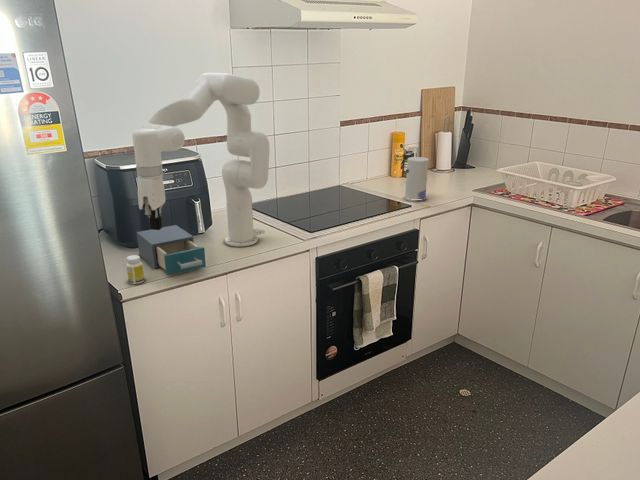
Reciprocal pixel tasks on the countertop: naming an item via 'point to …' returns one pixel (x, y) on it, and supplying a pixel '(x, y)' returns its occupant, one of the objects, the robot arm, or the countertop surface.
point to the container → (416, 178)
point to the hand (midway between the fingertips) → (156, 228)
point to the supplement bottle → (135, 269)
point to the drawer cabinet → (159, 241)
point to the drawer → (180, 257)
